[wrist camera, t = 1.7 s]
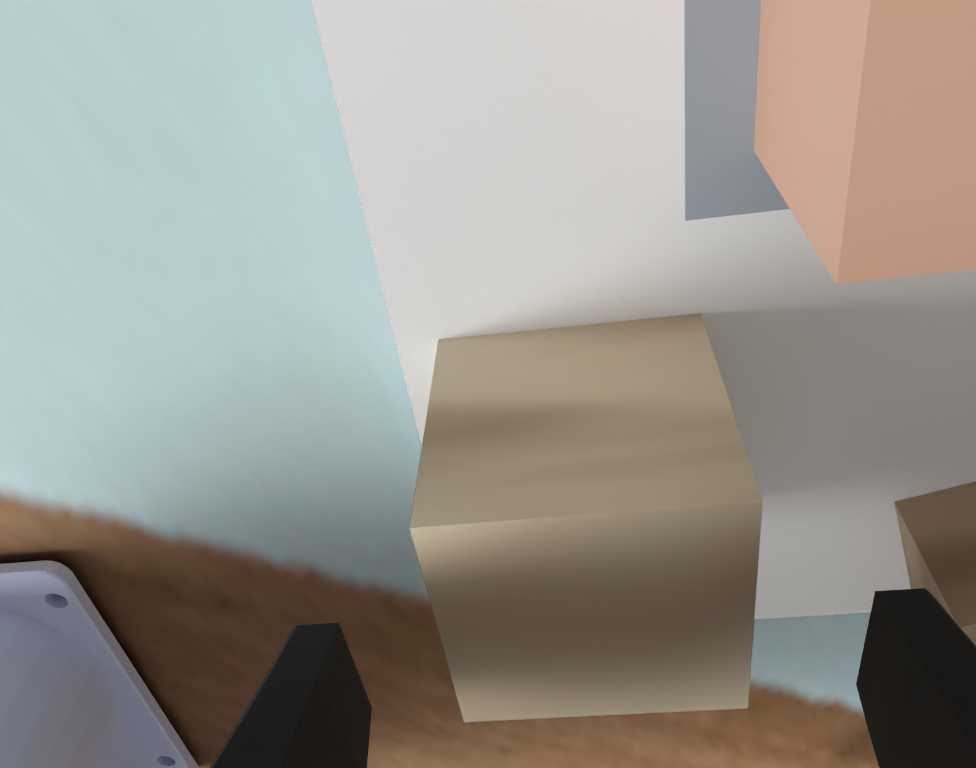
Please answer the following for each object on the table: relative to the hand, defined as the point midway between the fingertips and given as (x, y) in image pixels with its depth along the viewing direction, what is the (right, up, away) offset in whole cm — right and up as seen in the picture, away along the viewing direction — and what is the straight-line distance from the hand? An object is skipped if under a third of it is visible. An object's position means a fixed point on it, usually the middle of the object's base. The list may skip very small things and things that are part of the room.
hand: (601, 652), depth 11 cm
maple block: (0, +3, +4) cm, 5 cm away
